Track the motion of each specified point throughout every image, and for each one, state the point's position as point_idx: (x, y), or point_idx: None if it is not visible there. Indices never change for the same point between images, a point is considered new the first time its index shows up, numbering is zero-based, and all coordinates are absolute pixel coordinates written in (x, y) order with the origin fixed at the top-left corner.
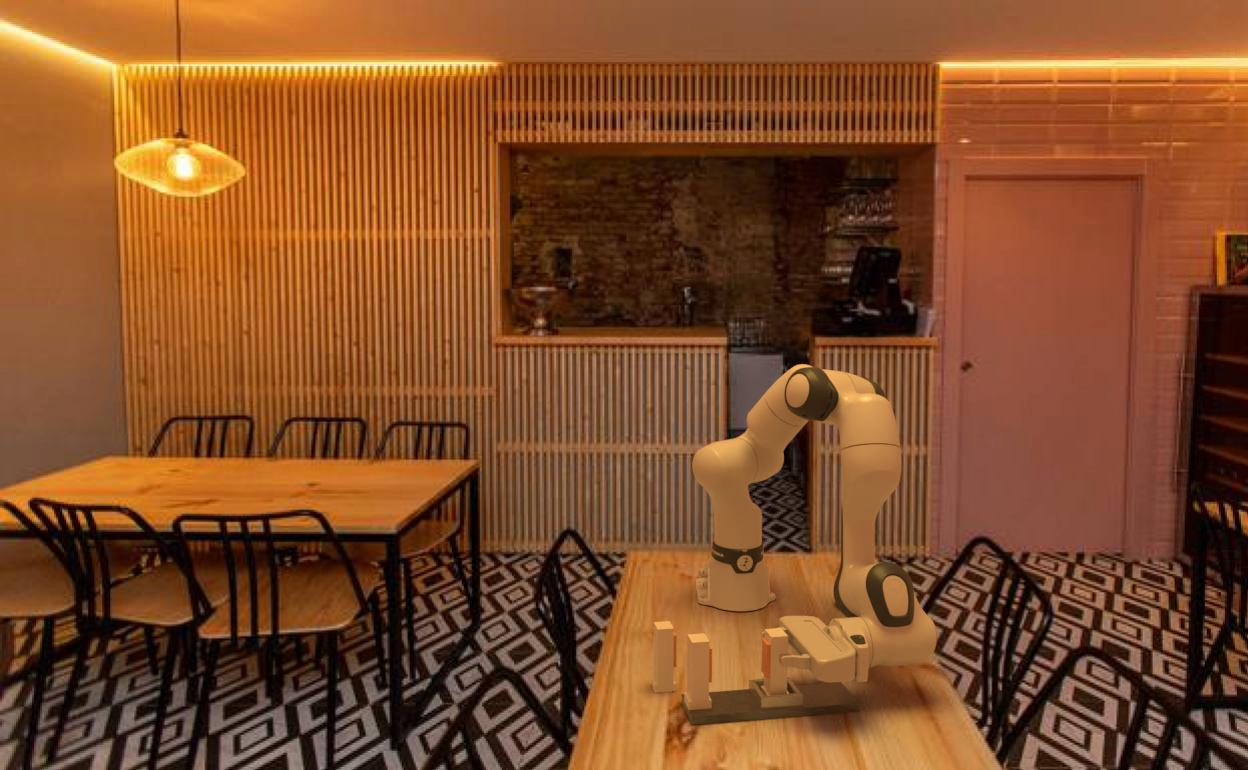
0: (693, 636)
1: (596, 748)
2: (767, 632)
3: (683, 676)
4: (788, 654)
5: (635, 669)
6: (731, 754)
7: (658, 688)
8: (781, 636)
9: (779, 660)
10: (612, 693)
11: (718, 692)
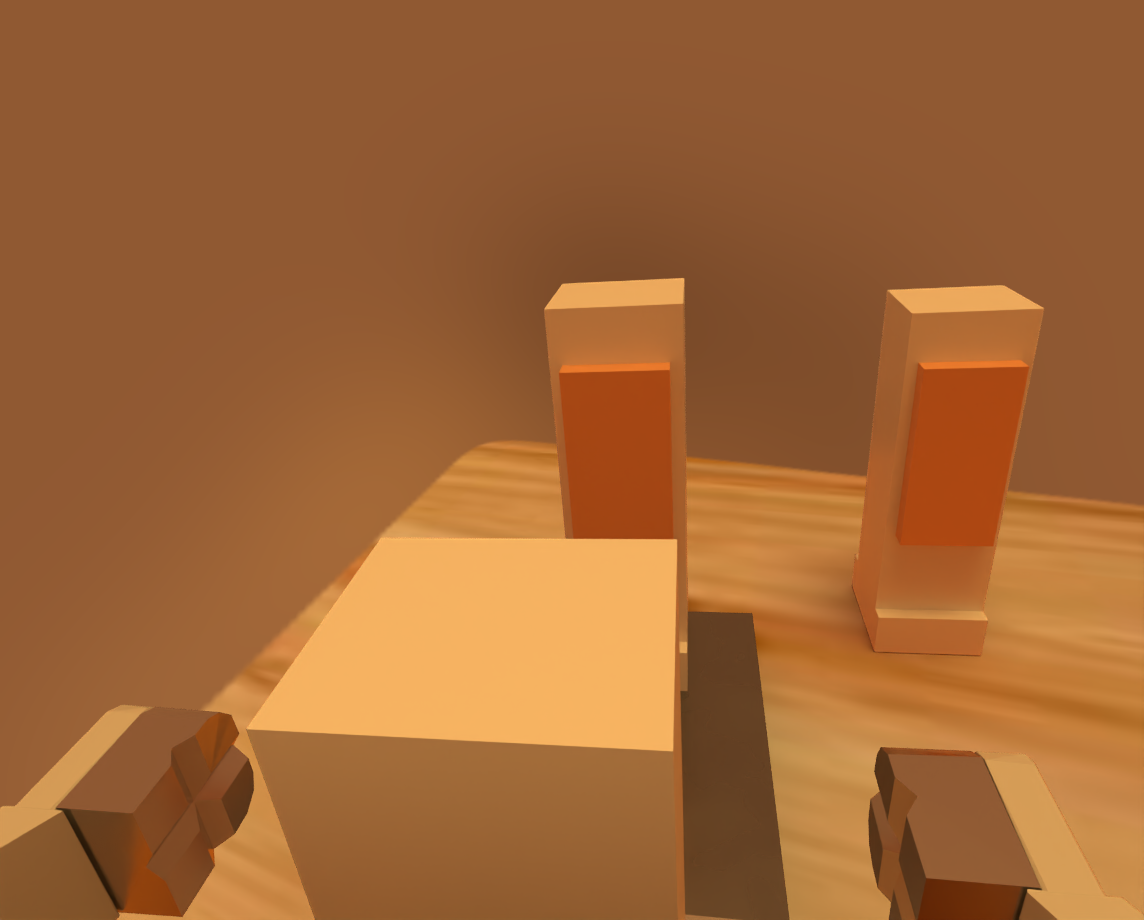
0: (645, 285)
1: (514, 454)
2: (551, 540)
3: (1087, 717)
4: (111, 789)
5: (1105, 565)
6: (246, 706)
7: (857, 578)
8: (315, 638)
9: (230, 753)
10: (844, 496)
11: (755, 764)
